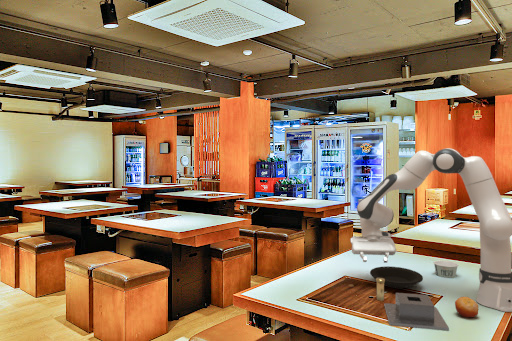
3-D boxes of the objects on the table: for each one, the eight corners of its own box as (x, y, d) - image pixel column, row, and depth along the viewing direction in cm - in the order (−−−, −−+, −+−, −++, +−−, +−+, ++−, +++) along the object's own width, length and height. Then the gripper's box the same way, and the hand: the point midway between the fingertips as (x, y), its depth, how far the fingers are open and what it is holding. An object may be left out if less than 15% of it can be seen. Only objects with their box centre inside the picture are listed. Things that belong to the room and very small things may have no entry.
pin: (384, 298, 166) (384, 278, 166) (385, 301, 162) (385, 280, 162) (375, 297, 167) (375, 277, 167) (376, 300, 163) (376, 280, 163)
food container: (452, 272, 206) (452, 260, 206) (462, 279, 194) (462, 266, 194) (429, 272, 207) (429, 260, 207) (438, 278, 195) (438, 266, 195)
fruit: (467, 306, 153) (473, 293, 148) (477, 323, 146) (484, 309, 142) (447, 306, 152) (453, 293, 148) (457, 323, 146) (463, 310, 141)
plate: (429, 297, 168) (429, 284, 168) (373, 293, 173) (373, 281, 172) (415, 278, 195) (415, 267, 195) (367, 275, 200) (367, 265, 200)
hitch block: (436, 309, 153) (436, 292, 153) (449, 330, 133) (449, 311, 133) (384, 305, 158) (384, 288, 157) (389, 325, 138) (389, 306, 138)
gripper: (350, 232, 184) (353, 257, 174) (393, 233, 182) (399, 258, 172) (349, 240, 188) (351, 264, 179) (391, 240, 186) (396, 265, 176)
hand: (375, 261), depth 175 cm, fingers open, 8 cm apart
